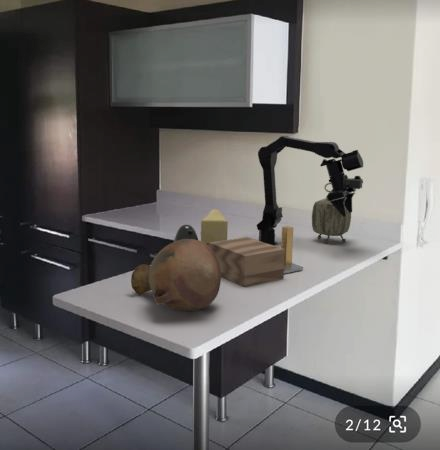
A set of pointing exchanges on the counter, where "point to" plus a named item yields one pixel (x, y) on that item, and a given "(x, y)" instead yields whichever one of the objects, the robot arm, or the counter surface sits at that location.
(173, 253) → the jug
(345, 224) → the tabletop clock
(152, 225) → the counter surface
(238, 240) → the brown wooden block
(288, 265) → the grey plate wooden post
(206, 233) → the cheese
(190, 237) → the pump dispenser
